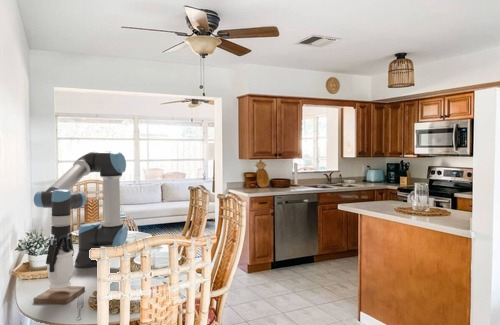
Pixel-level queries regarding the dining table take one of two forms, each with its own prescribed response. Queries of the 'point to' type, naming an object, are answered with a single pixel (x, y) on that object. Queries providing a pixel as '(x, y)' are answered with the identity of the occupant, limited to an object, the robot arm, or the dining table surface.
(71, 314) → the dining table surface
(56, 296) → the board
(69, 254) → the jar
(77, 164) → the robot arm
